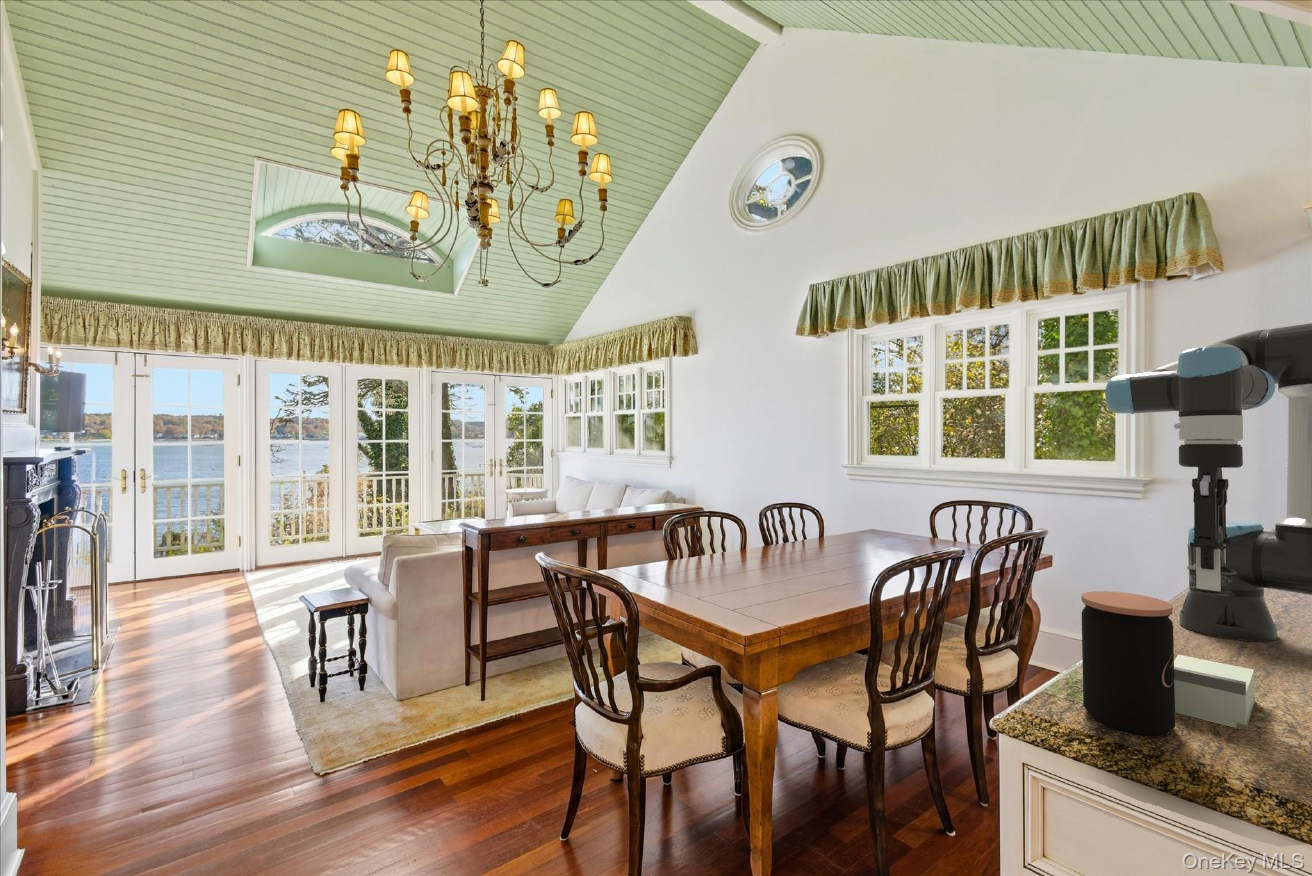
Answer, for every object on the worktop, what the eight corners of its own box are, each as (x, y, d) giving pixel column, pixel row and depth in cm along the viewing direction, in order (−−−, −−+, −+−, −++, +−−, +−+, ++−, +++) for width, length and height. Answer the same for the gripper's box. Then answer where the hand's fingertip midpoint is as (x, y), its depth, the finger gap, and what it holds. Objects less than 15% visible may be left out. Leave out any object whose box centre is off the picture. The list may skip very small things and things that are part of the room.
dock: (1179, 683, 99) (1178, 645, 99) (1254, 701, 92) (1253, 659, 92) (1163, 709, 90) (1162, 666, 90) (1246, 730, 83) (1245, 684, 83)
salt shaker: (1188, 585, 98) (1187, 514, 98) (1237, 591, 94) (1236, 517, 94) (1185, 591, 94) (1184, 516, 94) (1236, 598, 90) (1235, 520, 90)
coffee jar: (1184, 746, 79) (1181, 614, 79) (1086, 727, 85) (1084, 603, 85) (1167, 715, 88) (1164, 596, 88) (1080, 699, 94) (1078, 587, 94)
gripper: (1188, 443, 103) (1190, 574, 103) (1168, 442, 91) (1169, 590, 91) (1248, 443, 98) (1250, 582, 97) (1235, 442, 86) (1237, 600, 85)
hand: (1211, 586), depth 94 cm, fingers closed on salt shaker, 6 cm apart
